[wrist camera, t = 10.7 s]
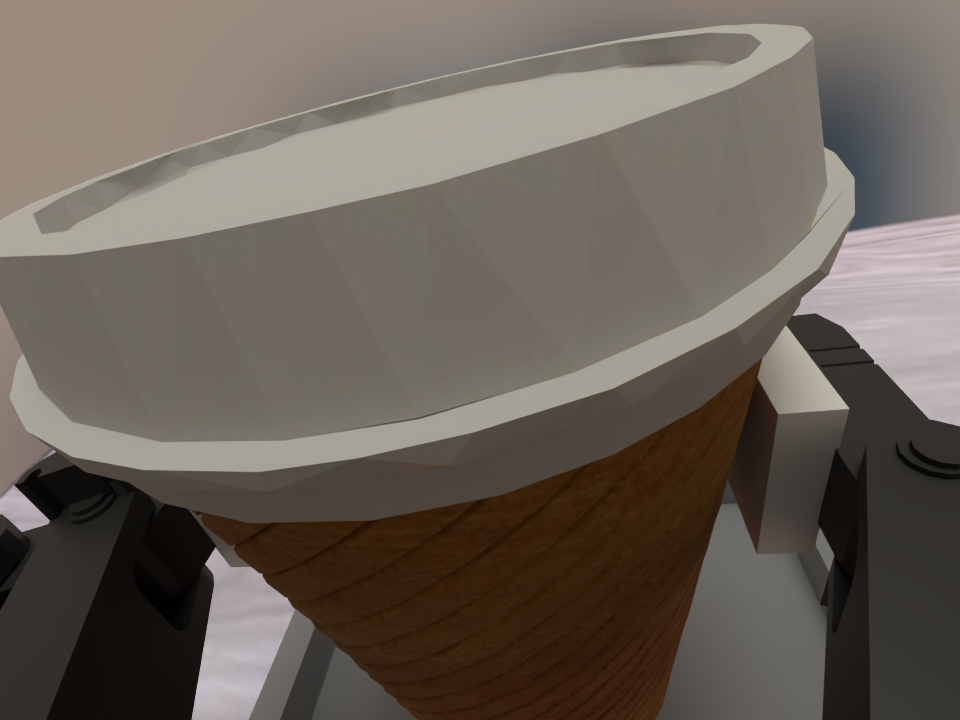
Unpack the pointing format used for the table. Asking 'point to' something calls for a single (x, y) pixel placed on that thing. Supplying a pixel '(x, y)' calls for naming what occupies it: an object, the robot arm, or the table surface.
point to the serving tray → (698, 663)
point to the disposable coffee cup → (452, 350)
